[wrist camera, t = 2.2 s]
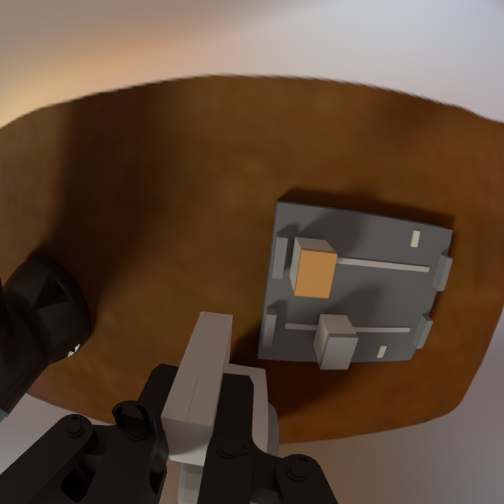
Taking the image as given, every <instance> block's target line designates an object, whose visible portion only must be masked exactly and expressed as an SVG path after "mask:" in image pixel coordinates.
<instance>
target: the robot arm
mask: <svg viewBox="0 0 504 504" xmlns="http://www.w3.org/2000/svg"><path fill="white" fill-rule="evenodd" d="M232 318H233V315H226V314H218V313H210V312H202V311H201V313H200V316H199V318H198V321H197V323H196V326H195V328H194V331H193V333H192V336H191V338H190V341H189V343H188V346H187V349H186V351H185V354H184V356H183V359H182V361H181V364H180V367H177V366H171V365H166V364H160V365H159V366H157V367H156V368H155V369H153V370H152V372H151V374H150V376H149V378H148V381H147V382H146V384H145V386H144V389H143V390H142V392H141V395H140V397H139V399H138V401H133V400H129V401H123V402H121V403H119V404H117V405H115V407H114V408H113V409H112V413H113V416H114V419H115V421H116V424H117V425H110V426H104V425H92V424H91V422H90V421H89V420H88V419H87V418H86V417H84V416H82V415H80V414H70V415H66V416H65V417H63V418H61V419H60V420H59V421H58V422H57V423H56V424H55V425H54V426H53V427H51V428H50V429H49V430H48V431H47V432H46V433H45V434H44V435H43V436H42V437H41V438H40V439H39V440H37V441H36V442H35V443H34V444H33V445H32V446H31V447H30V448H29V449H28V450H27V451H25V452H24V453H23V454H22V455H21V456H20V457H19V458H18V459H17V460H16V461H15V462H14V463H12V464H11V465H10V466H9V467H8V468H7V469H6V470H5V471H4V472H3V473H2V474H1V475H0V504H159V501H160V497H161V493H162V489H163V485H164V481H165V478H166V474H167V466H166V462H167V459H168V455H169V457H170V460H174V461H179V462H183V463H189V464H194V465H201V466H204V467H203V473H202V478H201V484H200V489H199V495H198V500H197V504H250V502H253V503H256V504H338V502H337V500H336V498H335V496H334V494H333V492H332V490H331V488H330V486H329V484H328V482H327V480H326V477H325V476H324V473H323V471H322V469H321V467H320V465H319V464H318V463H317V461H316V460H314V459H313V458H311V457H309V456H306V455H302V454H292V455H289V456H287V457H284V458H280V457H277V456H274V455H270V454H268V453H265V452H263V451H262V450H261V449H259V448H258V447H257V446H256V444H255V443H254V441H253V437H252V425H253V401H254V384H253V382H252V380H251V378H250V376H249V375H239V374H230V373H227V371H228V365H229V357H230V344H231V331H232ZM89 333H90V316H89V312H88V308H87V305H86V302H85V300H84V298H83V296H82V293H81V292H80V290H79V288H78V286H77V285H76V283H75V282H74V281H73V279H72V278H71V277H70V276H69V274H68V273H67V272H66V271H65V270H64V269H63V268H62V267H60V266H59V265H58V264H56V263H55V262H53V261H51V260H49V259H47V258H43V257H35V258H32V259H30V260H28V261H26V262H24V263H22V264H21V265H20V266H18V267H17V269H16V270H15V271H14V273H13V274H12V275H11V276H10V278H9V279H8V280H7V282H6V283H5V285H4V286H3V287H2V285H1V279H0V422H1V421H2V420H3V419H4V418H5V417H8V415H9V413H10V412H11V411H12V410H13V408H14V407H15V405H16V404H17V403H18V402H19V400H20V399H21V398H22V397H23V395H24V394H25V393H26V392H27V390H28V389H29V388H30V387H31V385H32V384H33V383H34V382H35V380H36V379H37V378H38V377H39V376H40V374H41V373H42V372H43V371H44V370H45V369H46V368H47V366H48V365H50V364H53V363H55V362H57V361H59V360H62V359H64V358H66V357H67V356H70V355H73V354H74V353H76V352H77V351H78V350H79V349H80V348H81V347H82V346H83V345H84V343H85V342H86V341H87V339H88V337H89Z"/></svg>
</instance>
